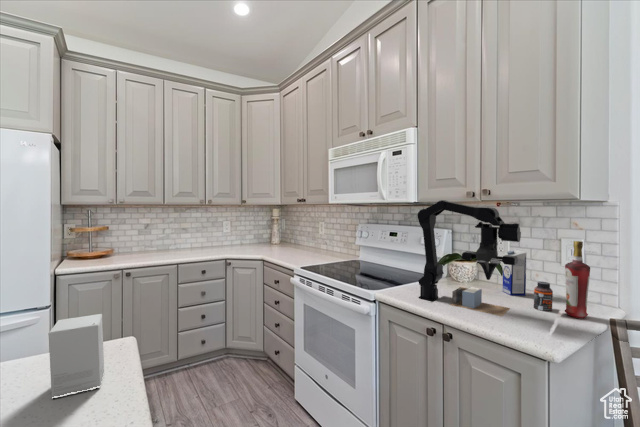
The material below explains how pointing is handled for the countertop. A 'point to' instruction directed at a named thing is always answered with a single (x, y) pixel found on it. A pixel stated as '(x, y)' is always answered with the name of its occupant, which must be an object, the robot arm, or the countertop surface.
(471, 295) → the grey rectangular block
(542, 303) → the supplement bottle
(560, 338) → the countertop surface
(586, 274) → the liquor
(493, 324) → the countertop surface
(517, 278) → the milk carton
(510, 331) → the countertop surface
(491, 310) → the shelf
